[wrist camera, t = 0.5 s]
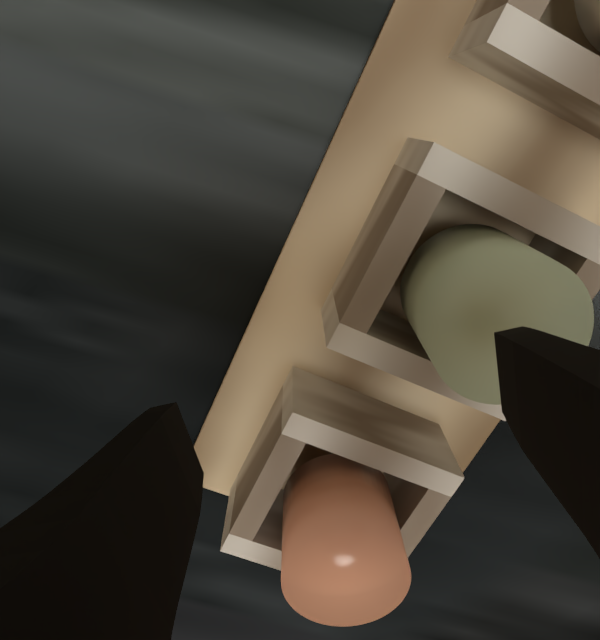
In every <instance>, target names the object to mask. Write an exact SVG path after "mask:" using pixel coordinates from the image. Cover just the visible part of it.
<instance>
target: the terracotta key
mask: <svg viewBox="0 0 600 640" xmlns="http://www.w3.org/2000/svg"><path fill="white" fill-rule="evenodd" d="M410 583H411V570H410V566H409V562H408V558H407V555H406V551H405V547H404V543H403V539H402V535H401V532H400V528H399V524H398V520H397V516H396V512H395V508H394V505H393V501H392V497H391V493H390V489H389V486H388V482H387V480H386V478H385V476H384V475H383V473H382V472H381V471H380V470H377V469H374V468H372V467H369V466H366V465H364V464H361V463H358V462H356V461H353V460H350V459H348V458H345V457H342V456H339V455H337V454H329V455H323V456H320V457H317V458H314V459H311V460H309V461H307V462H306V463H304V464H303V465H301V466H300V467H299V468H297V469H296V470H295V471H294V472H293V474H292V475H291V476H290V478H289V479H288V481H287V483H286V485H285V488H284V493H283V521H282V560H281V587H282V591H283V594H284V597H285V599H286V600H287V602H288V603H289V605H290V606H291V607H292V608H293V609H294V610H295V611H296V612H298V613H299V614H300V615H302V616H304V617H305V618H307V619H309V620H311V621H314V622H317V623H320V624H324V625H330V626H341V627H343V626H356V625H361V624H366V623H369V622H372V621H375V620H377V619H379V618H381V617H383V616H385V615H387V614H388V613H390V612H391V611H393V610H394V609H395V608H396V607H397V606H398V605H399V604H400V603H401V602H402V601H403V599H404V598H405V596H406V594H407V592H408V590H409V587H410Z"/></svg>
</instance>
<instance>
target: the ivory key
mask: <svg viewBox="0 0 600 640" xmlns="http://www.w3.org/2000/svg"><path fill="white" fill-rule="evenodd" d="M574 4H575V11H576V15H577V19H578V22H579V25H580V27H581V29H582V31H583V33H584V35H585V37H586V38H587V39H588V41H589V42H590V44H591V45H592V46H593V47H594V48H596V49H597V50H598V51H599V52H600V0H574Z"/></svg>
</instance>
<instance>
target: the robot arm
mask: <svg viewBox="0 0 600 640" xmlns="http://www.w3.org/2000/svg"><path fill="white" fill-rule="evenodd" d="M494 339H495V348H496V358H497V368H498V378H499V387H500V397H501V407H502V413H503V415H504V417H505V419H506V420H507V422H508V424H509V426H510V428H511V430H512V432H513V434H514V436H515V438H516V439H517V441H518V443H519V445H520V447H521V448H522V450H523V451H524V453H525V454H526V456H527V457H528V459H529V460H530V461H531V463H532V464H533V465H534V467H535V468H536V470H537V471H538V472H539V474H540V475H541V477H542V478H543V479H544V481H545V482H546V483H547V485H548V486H549V488H550V489H551V490H552V492H553V493H554V494H555V496H556V497H557V498H558V500H559V501H560V503H561V504H562V505H563V507H564V508H565V509H566V511H567V512H568V513H569V515H570V516H571V518H572V519H573V520H574V522H575V523H576V524H577V526H578V527H579V528H580V530H581V531H582V533H583V534H584V535H585V537H586V538H587V540H588V541H589V543H590V544H591V546H592V547H593V549H594V550H595V552H596V553H597V555H598V557H599V558H600V350H598V349H594V348H591V347H588V346H585V345H582V344H579V343H576V342H573V341H570V340H567V339H564V338H561V337H558V336H555V335H552V334H549V333H546V332H543V331H540V330H536V329H532V328H528V327H524V326H521V327H517V328H512V329H508V330H503V331H498V332H494ZM203 478H204V472H203V470H202V467H201V465H200V462H199V459H198V457H197V454H196V452H195V449H194V447H193V444H192V442H191V439H190V436H189V434H188V431H187V429H186V426H185V424H184V421H183V418H182V416H181V413H180V411H179V408H178V406H177V403H176V402H175V403H170V404H166V405H161V406H157V407H152V408H150V409H148V410H147V411H145V412H144V413H143V414H141V415H140V416H139V417H138V418H136V419H135V420H134V421H133V422H131V423H130V424H129V425H128V426H127V427H126V428H125V429H123V430H122V431H121V432H120V433H119V434H118V435H117V436H115V437H114V438H113V439H112V440H111V441H110V442H109V443H107V444H106V445H105V446H104V447H103V448H102V449H101V450H100V451H98V452H97V453H96V454H95V455H94V456H93V457H92V458H90V459H89V460H88V461H87V462H86V463H85V464H83V465H82V466H81V467H80V468H79V469H77V470H76V471H75V472H74V473H73V474H71V475H70V476H69V477H68V478H66V479H65V480H64V481H63V482H62V483H60V484H59V485H58V486H57V487H56V488H54V489H53V490H52V491H51V492H49V493H48V494H47V495H46V496H44V497H43V498H42V499H40V500H39V501H38V502H36V503H35V504H34V505H32V506H31V507H30V508H28V509H27V510H26V511H24V512H23V513H21V514H20V515H19V516H17V517H16V518H14V519H13V520H11V521H10V522H9V523H7V524H6V525H4V526H3V527H2V528H0V640H171V635H172V630H173V625H174V620H175V615H176V610H177V606H178V602H179V598H180V594H181V590H182V586H183V582H184V578H185V574H186V570H187V566H188V562H189V558H190V554H191V550H192V546H193V541H194V537H195V533H196V529H197V525H198V520H199V516H200V509H201V501H202V491H203Z"/></svg>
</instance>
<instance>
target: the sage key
mask: <svg viewBox="0 0 600 640" xmlns="http://www.w3.org/2000/svg"><path fill="white" fill-rule="evenodd" d="M400 297H401V304H402V308H403V311H404V313H405V316H406V318H407V319H408V321H409V323H410V325H411V326H412V328H413V330H414V332H415V334H416V335H417V337H418V339H419V341H420V342H421V344H422V346H423V348H424V349H425V351H426V353H427V355H428V357H429V358H430V360H431V362H432V364H433V365H434V367H435V369H436V371H437V372H438V374H439V376H440V377H441V379H442V380H443V381H444V382H445V384H447V385H448V386H449V387H450V388H451V389H452V390H453V391H455V392H456V393H458V394H459V395H461V396H463V397H465V398H467V399H469V400H472V401H475V402H479V403H484V404H493V405H501V397H500V387H499V378H498V368H497V358H496V348H495V339H494V332H498V331H503V330H508V329H512V328H517V327H521V326H524V327H528V328H532V329H536V330H540V331H543V332H546V333H549V334H552V335H555V336H558V337H561V338H564V339H567V340H570V341H573V342H576V343H579V344H582V345H585V346H588V345H589V342H590V339H591V336H592V332H593V327H594V310H593V304H592V300H591V297H590V294H589V292H588V290H587V288H586V286H585V285H584V283H583V282H582V280H581V279H580V278H579V277H578V276H577V275H576V274H575V273H574V272H573V271H572V270H570V269H569V268H568V267H566V266H564V265H563V264H561V263H559V262H557V261H555V260H554V259H552V258H550V257H548V256H546V255H544V254H543V253H541V252H539V251H537V250H535V249H533V248H532V247H530V246H528V245H526V244H524V243H523V242H521V241H519V240H517V239H515V238H513V237H512V236H510V235H508V234H506V233H504V232H502V231H501V230H499V229H496V228H494V227H491V226H487V225H481V224H464V225H458V226H454V227H451V228H448V229H445V230H443V231H441V232H439V233H437V234H435V235H434V236H432V237H431V238H429V239H428V240H427V241H425V242H424V243H423V244H422V245H421V246H420V247H419V248H418V249H417V250H416V252H415V253H414V254H413V255H412V257H411V259H410V260H409V262H408V264H407V266H406V268H405V270H404V273H403V276H402V281H401V287H400Z"/></svg>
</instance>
